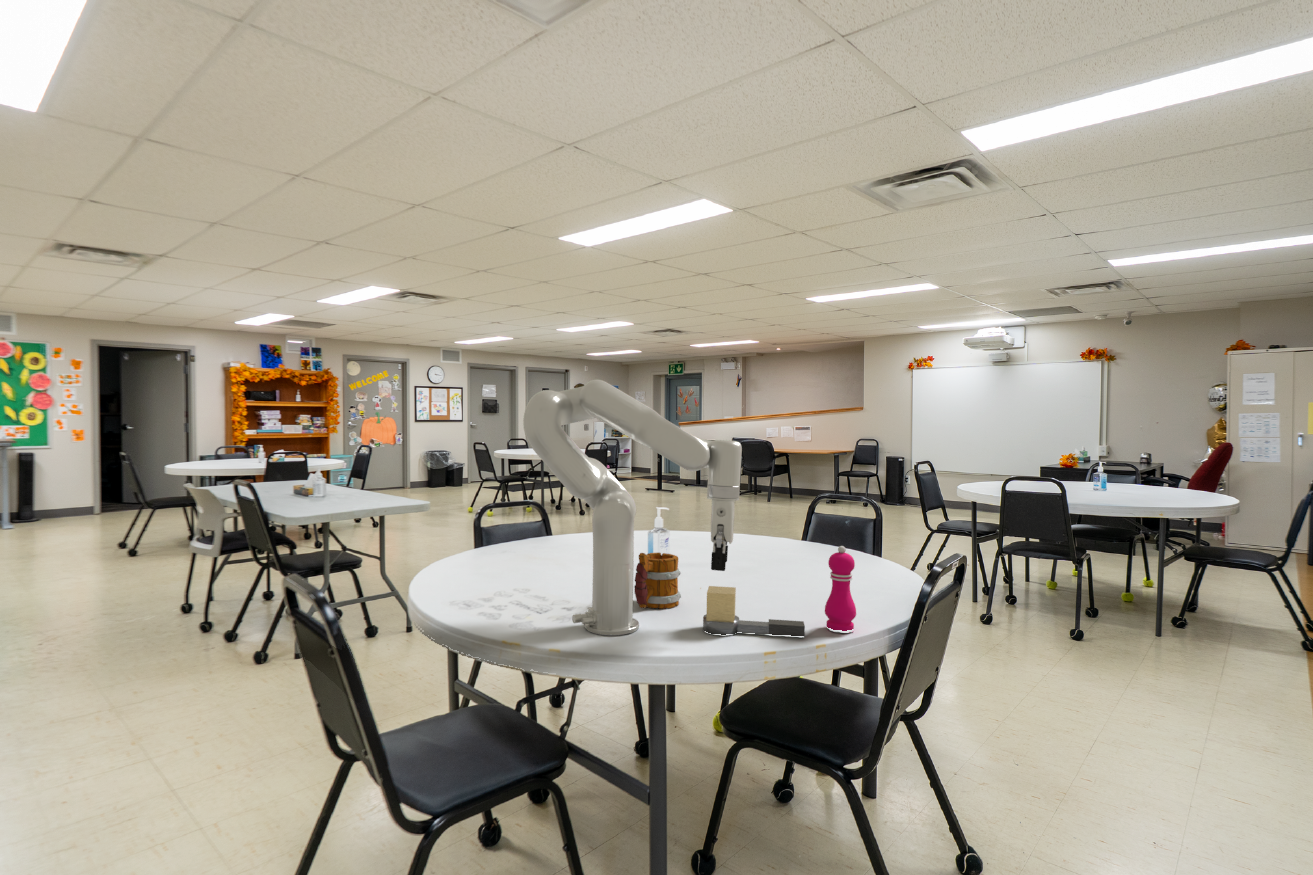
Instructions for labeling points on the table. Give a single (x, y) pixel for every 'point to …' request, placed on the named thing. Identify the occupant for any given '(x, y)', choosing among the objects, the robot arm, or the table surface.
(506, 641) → the table surface
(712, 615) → the wooden cube
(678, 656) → the table surface
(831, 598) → the pepper mill
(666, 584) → the mug
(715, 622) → the ratchet
